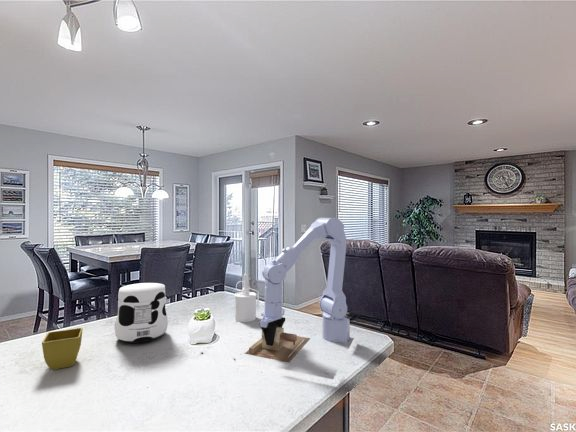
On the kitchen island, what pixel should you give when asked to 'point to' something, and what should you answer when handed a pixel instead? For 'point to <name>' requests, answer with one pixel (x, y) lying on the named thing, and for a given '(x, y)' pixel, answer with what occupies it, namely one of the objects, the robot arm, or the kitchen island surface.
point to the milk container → (141, 312)
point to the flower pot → (62, 348)
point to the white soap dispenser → (245, 303)
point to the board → (283, 354)
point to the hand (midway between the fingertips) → (272, 342)
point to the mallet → (279, 339)
